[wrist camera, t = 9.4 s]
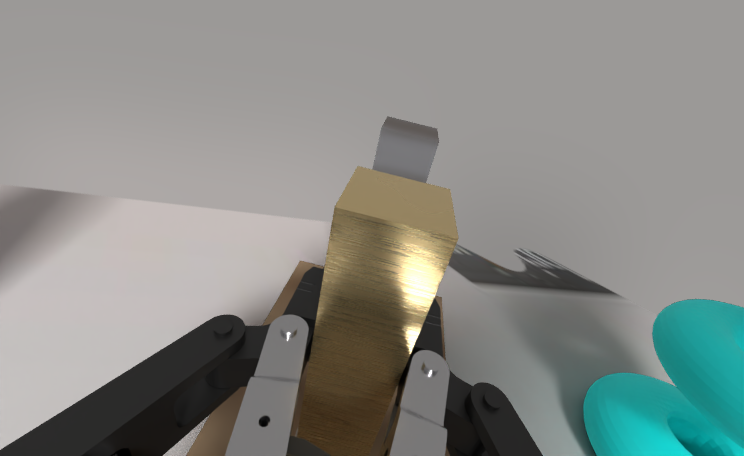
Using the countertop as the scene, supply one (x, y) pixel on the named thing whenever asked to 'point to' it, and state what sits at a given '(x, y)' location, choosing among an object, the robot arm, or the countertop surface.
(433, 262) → the brass leg
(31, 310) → the countertop surface
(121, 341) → the countertop surface
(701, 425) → the donuts
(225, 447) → the brown wooden stand
